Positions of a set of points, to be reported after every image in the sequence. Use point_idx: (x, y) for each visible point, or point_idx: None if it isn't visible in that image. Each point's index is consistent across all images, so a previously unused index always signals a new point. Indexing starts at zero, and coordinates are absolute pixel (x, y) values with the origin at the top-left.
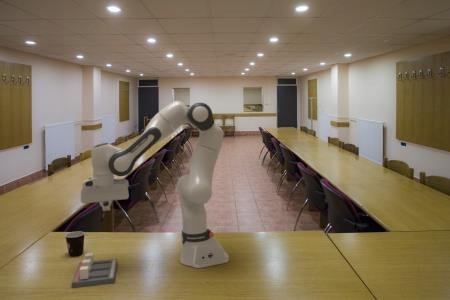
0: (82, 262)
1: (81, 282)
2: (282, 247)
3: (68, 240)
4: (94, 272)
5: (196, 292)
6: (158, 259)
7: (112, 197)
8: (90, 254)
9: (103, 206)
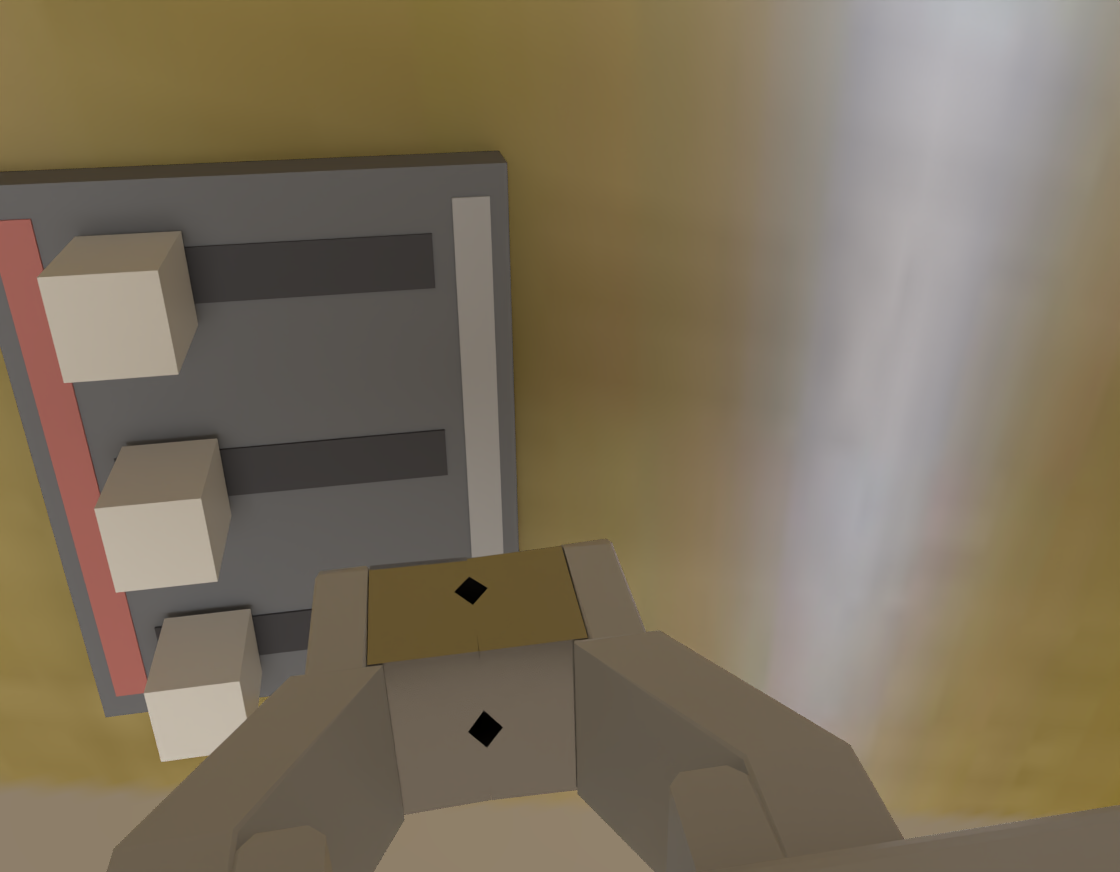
0: (116, 587)
1: None
2: None
3: None
4: (285, 524)
5: (1083, 790)
6: (997, 154)
7: None
8: (135, 333)
9: (379, 855)
